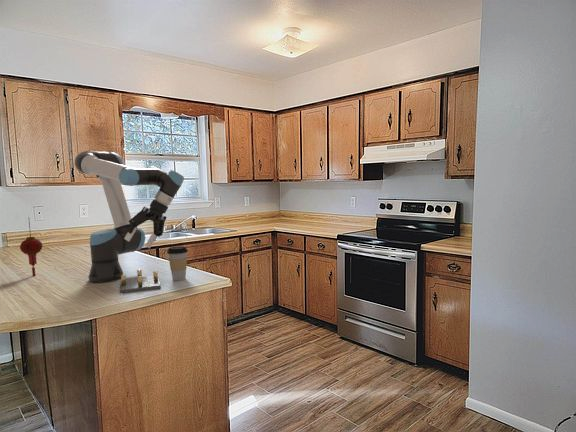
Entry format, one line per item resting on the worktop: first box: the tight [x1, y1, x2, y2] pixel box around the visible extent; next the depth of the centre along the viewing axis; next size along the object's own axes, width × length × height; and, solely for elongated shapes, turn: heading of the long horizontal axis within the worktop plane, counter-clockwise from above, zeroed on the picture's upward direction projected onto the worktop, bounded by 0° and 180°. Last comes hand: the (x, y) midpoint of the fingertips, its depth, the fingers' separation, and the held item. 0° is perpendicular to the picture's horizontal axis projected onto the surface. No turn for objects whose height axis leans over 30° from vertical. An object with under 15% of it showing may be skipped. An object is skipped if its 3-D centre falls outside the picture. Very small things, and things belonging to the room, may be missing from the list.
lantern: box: [19, 216, 43, 277], centre depth 192 cm, size 10×10×30 cm
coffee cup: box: [166, 245, 189, 282], centre depth 177 cm, size 9×9×15 cm
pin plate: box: [119, 269, 161, 295], centre depth 169 cm, size 20×16×6 cm
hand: (137, 243), depth 170 cm, fingers open, 13 cm apart
